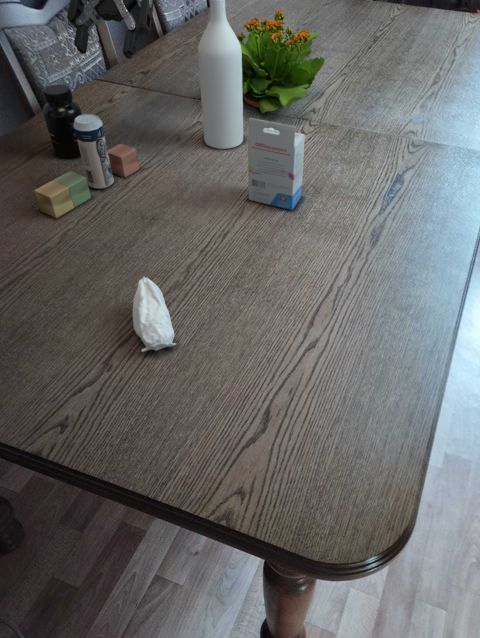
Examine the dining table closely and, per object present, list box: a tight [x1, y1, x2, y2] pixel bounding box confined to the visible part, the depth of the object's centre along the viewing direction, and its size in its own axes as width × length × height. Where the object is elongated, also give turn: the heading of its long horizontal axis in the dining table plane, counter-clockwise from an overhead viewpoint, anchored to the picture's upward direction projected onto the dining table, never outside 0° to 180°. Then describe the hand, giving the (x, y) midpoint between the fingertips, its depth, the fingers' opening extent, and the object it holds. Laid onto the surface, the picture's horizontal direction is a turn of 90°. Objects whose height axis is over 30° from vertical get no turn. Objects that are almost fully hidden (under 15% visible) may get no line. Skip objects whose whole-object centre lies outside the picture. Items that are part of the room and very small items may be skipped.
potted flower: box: [236, 9, 326, 115], centre depth 121 cm, size 25×24×18 cm
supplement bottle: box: [42, 83, 83, 159], centre depth 105 cm, size 7×7×12 cm
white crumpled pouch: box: [132, 276, 177, 353], centre depth 73 cm, size 5×7×10 cm
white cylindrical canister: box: [74, 113, 115, 190], centre depth 96 cm, size 5×5×12 cm
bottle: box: [197, 0, 244, 150], centre depth 102 cm, size 8×8×30 cm
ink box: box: [247, 117, 306, 211], centre depth 92 cm, size 8×5×15 cm, turn 66°
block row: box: [33, 143, 140, 219], centre depth 98 cm, size 4×20×4 cm, turn 146°
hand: (103, 53), depth 94 cm, fingers open, 8 cm apart
